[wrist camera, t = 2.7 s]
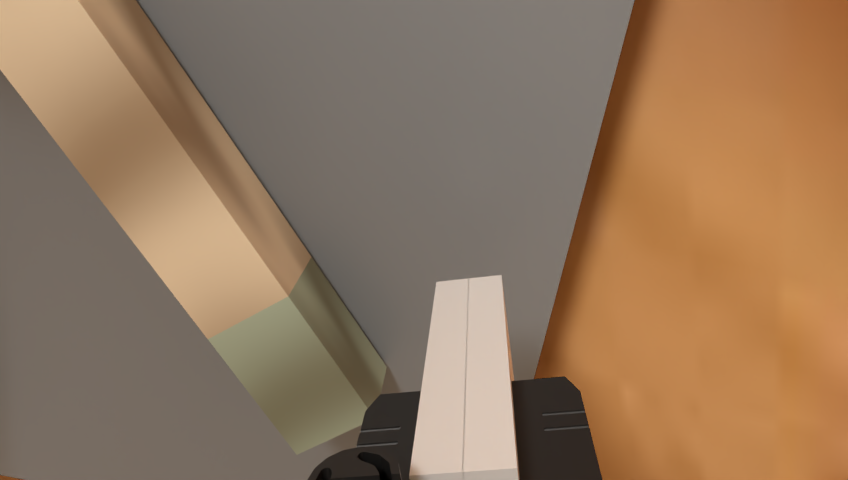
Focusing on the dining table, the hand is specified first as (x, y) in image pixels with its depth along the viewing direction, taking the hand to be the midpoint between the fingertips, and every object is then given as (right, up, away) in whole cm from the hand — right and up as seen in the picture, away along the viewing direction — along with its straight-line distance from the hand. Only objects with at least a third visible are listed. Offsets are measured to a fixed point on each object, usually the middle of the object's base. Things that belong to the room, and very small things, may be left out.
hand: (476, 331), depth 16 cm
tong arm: (-7, +4, +2) cm, 9 cm away
